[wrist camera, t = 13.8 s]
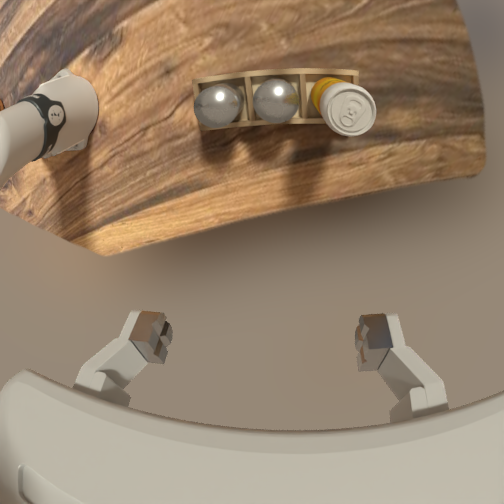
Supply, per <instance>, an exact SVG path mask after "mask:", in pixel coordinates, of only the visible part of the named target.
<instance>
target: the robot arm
mask: <svg viewBox="0 0 504 504" xmlns="http://www.w3.org/2000/svg"><path fill="white" fill-rule="evenodd" d="M97 116H98V100H97V95H96V93H95V90H94V88H93V87H92V85H91V84H90V83H89V82H88V81H87V80H86V79H84V78H82V77H79V76H76V75H74V74H73V73H72V72H71V71H70V70H68V69H63V70H61V71H60V72H59V73H58V74H56V75H55V76H54V77H53V78H52V79H51V80H50V81H48V82H46V83H43V84H41V85H40V86H39V88H38V89H37V90H36V91H35V92H34V93H33V95H29V96H27V97H25V98H23V99H21V100H19V101H18V102H17V103H16V104H15V105H13V106H11V107H8V108H6V109H4V110H2V111H0V190H1V189H2V187H3V186H4V184H5V183H6V182H7V181H8V180H9V179H10V178H11V177H12V176H13V175H14V174H15V173H16V172H18V171H19V170H20V169H21V168H23V167H24V166H25V165H27V164H28V163H29V162H31V161H36V160H37V159H39V158H42V157H43V158H44V159H45V158H48V157H50V156H56V155H57V154H60V153H62V152H64V151H72V150H82V149H84V148H85V147H86V145H87V141H88V136H89V134H90V132H91V131H92V129H93V128H94V126H95V123H96V120H97ZM77 144H78V145H77ZM165 320H166V316H165V314H164V313H160V312H150V311H142V310H133V311H131V312H130V314H129V317H128V319H127V321H126V323H125V325H124V327H123V329H122V332H121V334H120V336H119V338H115V339H114V340H113V341H112V342H111V343H109V344H108V345H107V346H106V347H104V348H103V349H102V350H101V351H99V352H98V353H97V354H96V355H94V356H93V357H92V358H91V359H90V360H89V361H87V362H86V363H85V364H83V365H82V367H81V370H80V372H79V374H78V377H77V379H76V381H75V384H74V386H73V388H70V387H68V386H66V385H63V384H61V383H58V382H56V381H54V380H52V379H49V378H47V377H45V376H43V375H41V374H39V373H37V372H35V371H33V370H30V369H24V370H22V371H20V372H19V373H18V374H16V375H15V376H14V377H13V378H11V379H10V380H9V381H7V383H6V384H5V385H4V387H3V388H2V390H1V392H0V504H504V391H502V392H499V393H497V394H494V395H492V396H489V397H486V398H484V399H481V400H478V401H475V402H472V403H469V404H466V405H463V406H460V407H457V408H453V409H450V410H449V408H448V402H447V397H446V392H445V388H444V383H443V381H442V380H441V379H440V378H439V377H438V376H437V374H436V373H435V372H434V371H433V370H432V369H431V368H430V367H429V366H428V365H427V364H426V363H425V362H424V361H423V360H422V359H421V358H420V357H419V356H418V355H417V354H416V353H415V352H414V351H413V350H412V349H411V348H410V347H409V346H406V345H405V341H404V337H403V333H402V329H401V326H400V322H399V318H398V315H397V314H396V313H387V314H383V313H382V314H369V315H361V316H360V318H359V326H357V328H356V332H355V347H356V349H357V350H358V351H359V353H358V356H357V363H358V371H373V370H378V373H379V374H380V375H381V377H382V378H383V379H384V381H385V382H386V384H387V385H388V386H389V388H390V389H391V390H392V392H393V393H394V394H395V396H396V397H397V399H398V400H399V402H398V403H397V404H396V405H395V406H394V407H393V408H392V409H391V411H390V423H386V424H379V425H371V426H364V427H354V428H342V429H328V430H264V429H248V428H236V427H227V426H219V425H211V424H204V423H198V422H191V421H186V420H180V419H175V418H170V417H165V416H161V415H156V414H152V413H148V412H144V411H140V410H136V409H133V408H129V407H128V405H129V402H130V399H131V397H130V395H129V394H128V393H126V392H125V391H124V390H123V389H124V388H125V387H126V386H127V385H128V384H129V382H130V381H131V380H132V379H133V378H134V377H135V376H136V375H137V374H138V373H139V372H140V371H141V370H142V369H143V368H144V367H145V365H147V363H148V362H151V363H159V364H164V363H165V359H166V356H167V353H168V351H167V348H166V347H167V346H168V345H169V344H170V343H171V341H172V333H173V332H172V327H171V325H170V324H169V323H168V322H167V321H165Z"/></svg>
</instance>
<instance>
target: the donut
mask: <svg viewBox="0 0 504 504" xmlns="http://www.w3.org/2000/svg"><path fill="white" fill-rule="evenodd" d="M2 110H4V107H3V103H2V101H1V99H0V111H2Z"/></svg>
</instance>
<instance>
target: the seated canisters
mask: <svg viewBox="0 0 504 504" xmlns="http://www.w3.org/2000/svg"><path fill="white" fill-rule="evenodd" d="M244 103H245V98H244V94H243V92H242V90H241V89H240V88H239V87H238V86H236V85H234V84H231V83H220V84H217V85H215V86H212V87H209V88H207V89H205V90H203V91H202V92H200V93H199V95H198V96H197V97H196V100H195V102H194V112H195V115H196V117H197V119H198V120H199V121H200V122H201V123H202V124H204V125H205V126H208V127H211V128H221V127H224V126H227V125H228V124H230V123H231V122H232V121H233V120H234V119H235V117H236V116H237V115H238V114H239V113H240V111H241V110H242V109H243V107H244ZM253 107H254V109H255V111H256V113H257V114H258V115H259V116H260V117H261V118H262V119H263V120H265V121H268V122H271V123H282V122H286V121H288V120H290V119H291V118H292V117H293V116H294V115H295V114H296V112H297V110H298V108H299V97H298V94H297V92H296V90H295V88H294V86H293V85H292V84H291V83H290V82H288V81H287V80H285V79H282V78H272V79H269V80H267V81H265V82H264V83H262V84H261V85H260V86H259V87H258V88H257V90H256V91H255V93H254V96H253Z"/></svg>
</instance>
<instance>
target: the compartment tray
mask: <svg viewBox="0 0 504 504" xmlns="http://www.w3.org/2000/svg"><path fill="white" fill-rule="evenodd" d="M327 77H332V78H336V79H339V80H342V81H346V82H349V83H352V84H354V85H357V86H359V74H358V71H355V70H344V69H319V68H297V69H271V70H258V71H247V72H238V73H230V74H222V75H215V76H209V77H203V78H198V79H194V80H192V84H193V90H194V96H195V100H196V97H197V96H198V95H199V93H200V92H202V91H203V90H205V89H207V88H209V87H212V86H215V85H217V84H220V83H231V84H234V85H236V86H238V87H239V88H240V89H241V90H242V92H243V94H244V98H245V103H244V107H243V109H242V110H241V111H240V113H239V114H238V115H237V116H236V117H235V119H234V120H233V121H232V122H231V123H230V124H228V125H227V126H224V127H221V128H211V127H208V126H205V125H204V124H202V123H201V122H200V121H199V125H200V130H201V131H207V130H215V129H223V128H233V127H244V126H257V125H274V124H313V123H316V124H327V123H326V122H325V120H324V119H323V117H322V116H321V114H320V113H319V112H318V110H317V109H316V107H315V106H314V104H313V102H312V100H311V90H312V87H313V85H314V84H315V83H316V82H317V81H318V80H320V79H322V78H327ZM272 78H282V79H285V80H287V81H288V82H290V83H291V84H292V85H293V86H294V88H295V90H296V92H297V94H298V97H299V108H298V110H297V112H296V114H295V115H294V116H293V117H292V118H291V119H290V120H288V121H286V122H282V123H271V122H268V121H265V120H263V119H262V118H261V117H260V116H259V115H258V114H257V113H256V111H255V109H254V107H253V96H254V93H255V91H256V90H257V88H258V87H259V86H260V85H261V84H262V83H264V82H265V81H267V80H269V79H272Z"/></svg>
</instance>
